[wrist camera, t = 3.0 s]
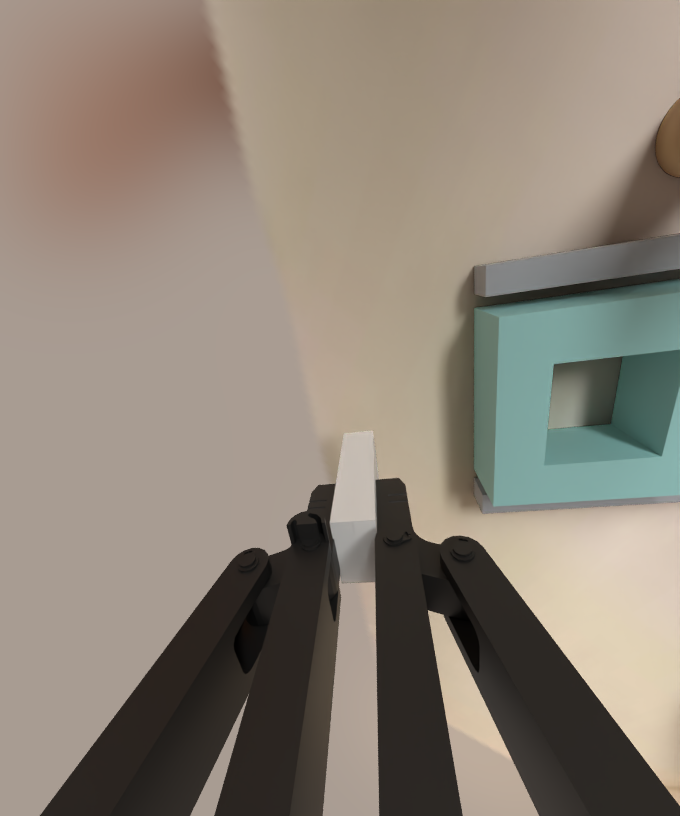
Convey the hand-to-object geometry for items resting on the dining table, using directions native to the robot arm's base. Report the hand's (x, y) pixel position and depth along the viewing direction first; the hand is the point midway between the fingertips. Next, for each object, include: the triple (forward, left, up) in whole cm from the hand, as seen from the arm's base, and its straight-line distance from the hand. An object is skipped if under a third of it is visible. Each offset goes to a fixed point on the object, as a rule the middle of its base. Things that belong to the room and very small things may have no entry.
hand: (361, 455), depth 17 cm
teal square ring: (0, +13, -6) cm, 14 cm away
